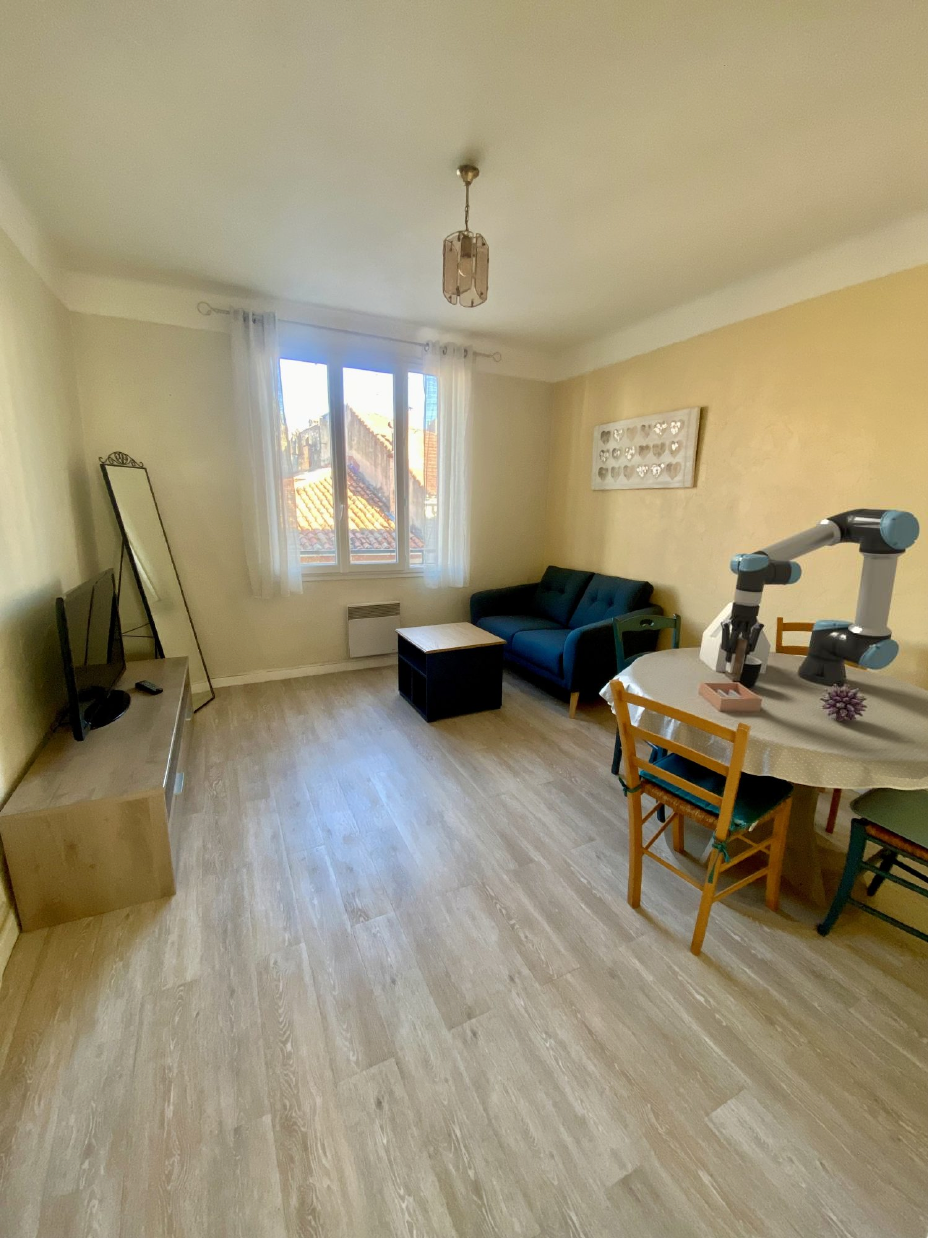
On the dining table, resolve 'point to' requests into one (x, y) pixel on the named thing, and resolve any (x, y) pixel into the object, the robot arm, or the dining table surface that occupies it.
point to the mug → (750, 672)
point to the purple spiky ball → (843, 702)
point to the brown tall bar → (737, 660)
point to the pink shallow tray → (730, 696)
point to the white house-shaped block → (713, 639)
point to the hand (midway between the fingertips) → (733, 671)
